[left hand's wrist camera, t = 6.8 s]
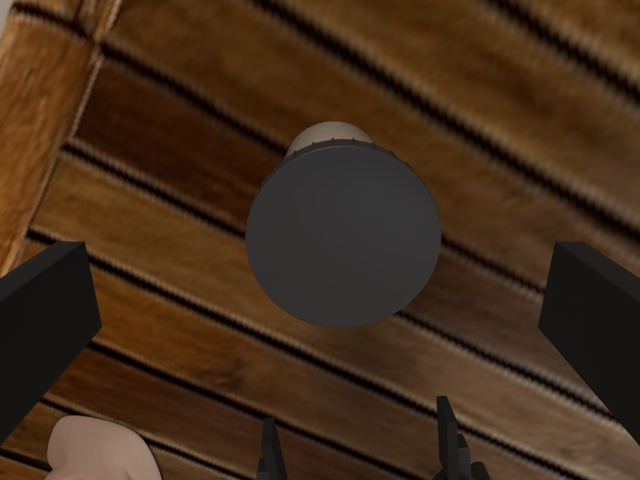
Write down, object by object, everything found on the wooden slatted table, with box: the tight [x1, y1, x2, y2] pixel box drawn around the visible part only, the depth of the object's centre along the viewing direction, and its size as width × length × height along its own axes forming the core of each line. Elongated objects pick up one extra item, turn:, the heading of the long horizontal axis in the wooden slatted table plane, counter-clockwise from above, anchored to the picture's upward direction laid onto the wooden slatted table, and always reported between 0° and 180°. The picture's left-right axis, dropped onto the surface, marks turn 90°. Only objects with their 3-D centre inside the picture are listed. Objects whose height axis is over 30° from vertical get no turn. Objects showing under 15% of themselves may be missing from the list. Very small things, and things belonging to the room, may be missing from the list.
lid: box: [246, 138, 441, 328], centre depth 22 cm, size 9×9×2 cm
